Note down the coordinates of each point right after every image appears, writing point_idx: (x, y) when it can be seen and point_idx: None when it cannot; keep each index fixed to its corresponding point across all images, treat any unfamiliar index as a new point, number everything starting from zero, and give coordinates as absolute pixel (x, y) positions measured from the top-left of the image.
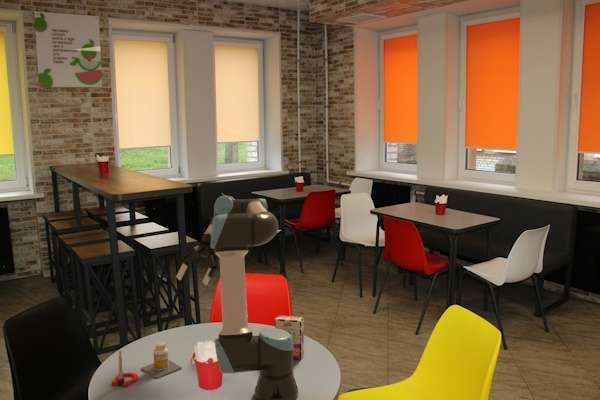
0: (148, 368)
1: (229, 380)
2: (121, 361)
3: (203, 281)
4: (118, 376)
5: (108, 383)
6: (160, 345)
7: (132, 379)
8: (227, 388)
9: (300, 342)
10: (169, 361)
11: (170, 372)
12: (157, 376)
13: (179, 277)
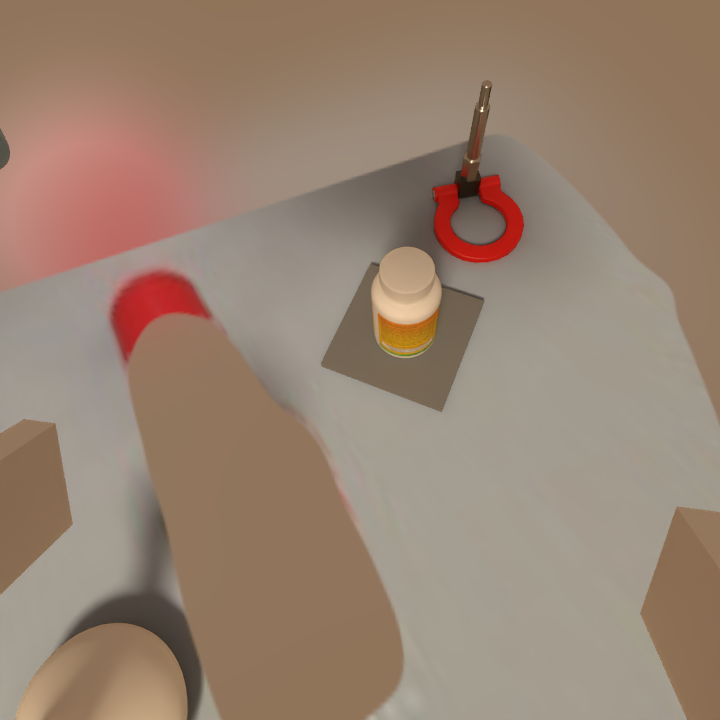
0: (450, 306)
1: (88, 353)
2: (473, 120)
3: (25, 423)
4: (512, 216)
5: (516, 187)
6: (394, 254)
7: (445, 217)
8: (80, 301)
9: None
10: (406, 390)
11: (345, 316)
12: (372, 269)
13: (671, 582)
